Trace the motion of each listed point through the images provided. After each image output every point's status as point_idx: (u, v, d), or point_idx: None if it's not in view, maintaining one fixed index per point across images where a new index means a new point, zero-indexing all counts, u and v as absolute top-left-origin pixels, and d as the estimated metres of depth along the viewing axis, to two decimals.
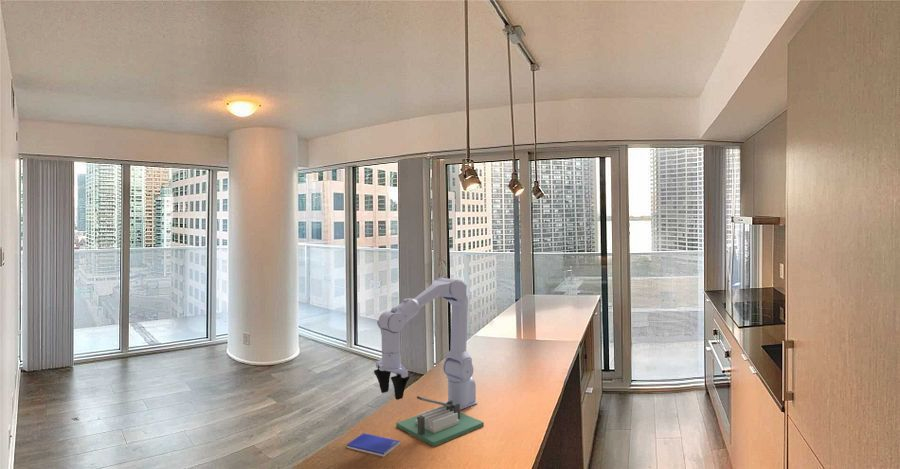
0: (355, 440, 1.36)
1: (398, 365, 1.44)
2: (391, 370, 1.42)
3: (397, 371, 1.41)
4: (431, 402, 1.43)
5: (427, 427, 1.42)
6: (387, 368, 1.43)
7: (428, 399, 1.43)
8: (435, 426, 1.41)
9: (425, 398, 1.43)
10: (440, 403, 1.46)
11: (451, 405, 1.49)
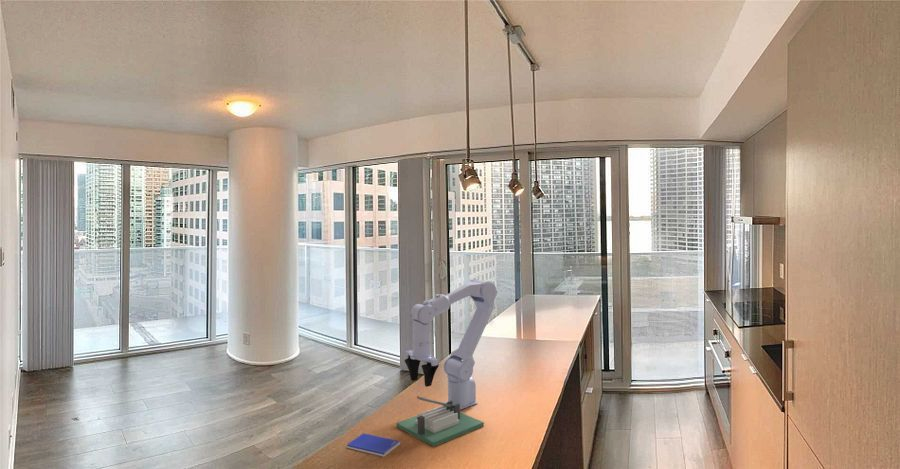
0: (355, 440, 1.36)
1: (428, 354, 1.54)
2: (422, 359, 1.52)
3: (428, 360, 1.51)
4: (431, 402, 1.43)
5: (427, 427, 1.42)
6: (418, 357, 1.53)
7: (428, 399, 1.43)
8: (435, 426, 1.41)
9: (425, 398, 1.43)
10: (440, 403, 1.46)
11: (451, 405, 1.49)
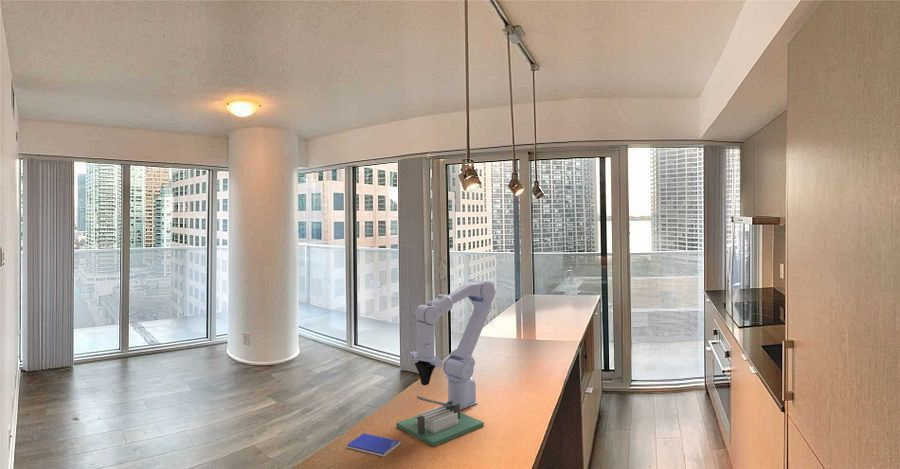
0: (355, 440, 1.36)
1: (432, 356, 1.53)
2: (426, 360, 1.51)
3: (432, 361, 1.49)
4: (431, 402, 1.43)
5: (427, 427, 1.42)
6: (422, 358, 1.51)
7: (428, 399, 1.43)
8: (435, 426, 1.41)
9: (425, 398, 1.43)
10: (440, 403, 1.46)
11: (451, 405, 1.49)
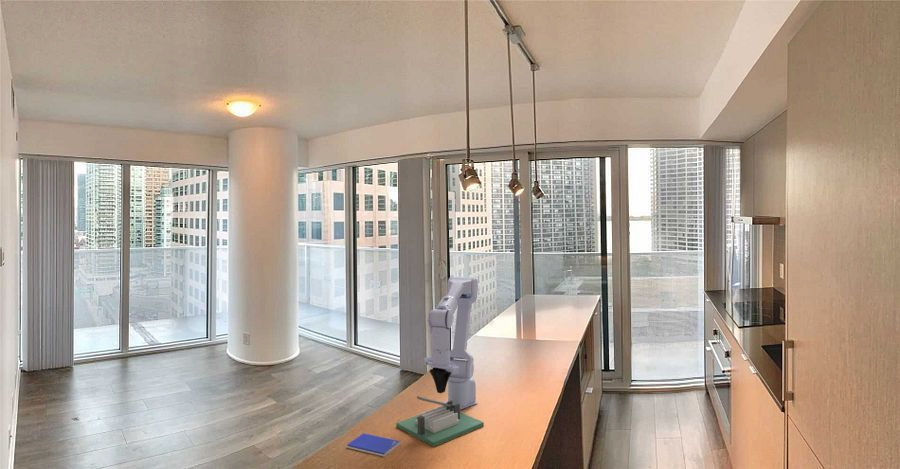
0: (355, 440, 1.36)
1: (448, 362, 1.45)
2: (442, 367, 1.43)
3: (448, 368, 1.42)
4: (431, 402, 1.43)
5: (427, 427, 1.42)
6: (438, 365, 1.44)
7: (428, 399, 1.43)
8: (435, 426, 1.41)
9: (425, 398, 1.43)
10: (440, 403, 1.46)
11: (451, 405, 1.49)
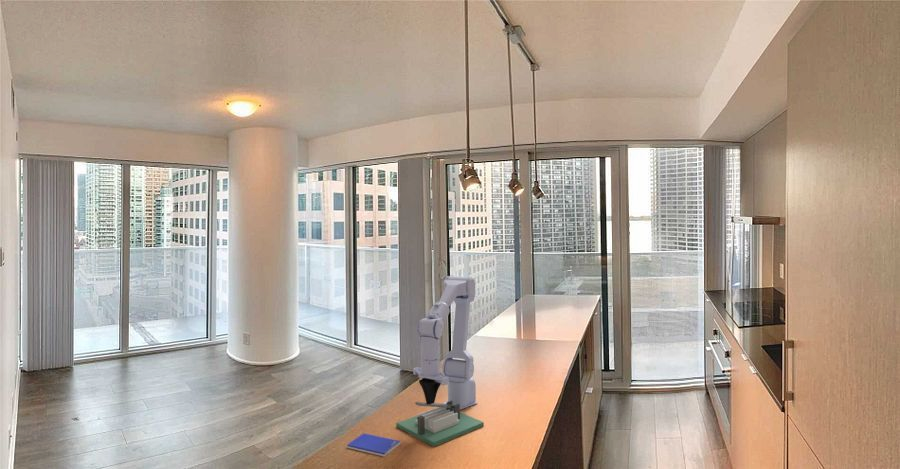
0: (355, 440, 1.36)
1: (437, 372, 1.42)
2: (431, 377, 1.40)
3: (437, 378, 1.39)
4: (430, 406, 1.43)
5: (427, 427, 1.42)
6: (427, 375, 1.41)
7: (427, 403, 1.43)
8: (435, 426, 1.41)
9: (424, 403, 1.43)
10: (439, 406, 1.45)
11: (451, 406, 1.48)
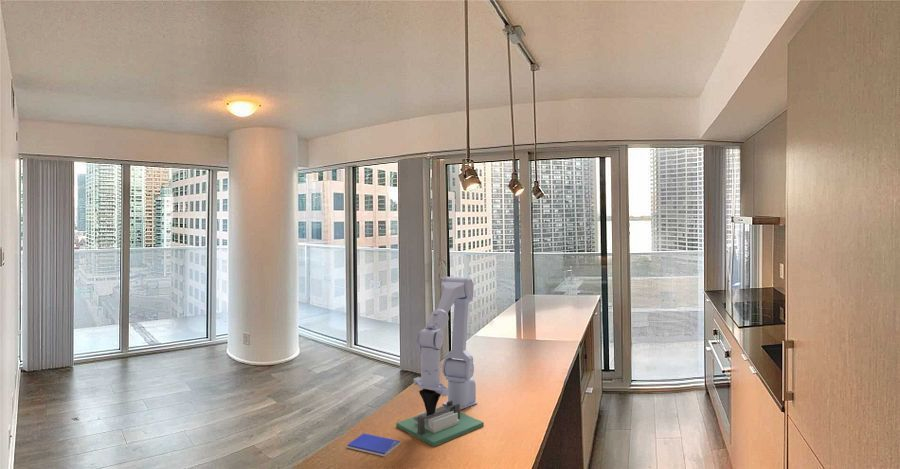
0: (355, 440, 1.36)
1: (438, 383, 1.42)
2: (431, 388, 1.40)
3: (438, 389, 1.39)
4: None
5: (427, 427, 1.42)
6: (427, 386, 1.41)
7: (425, 416, 1.42)
8: (435, 426, 1.41)
9: (422, 415, 1.42)
10: (439, 412, 1.45)
11: (450, 408, 1.48)
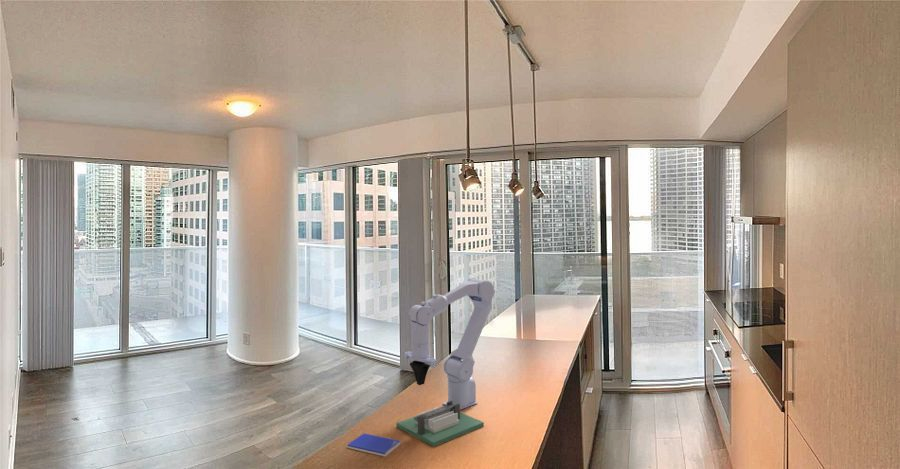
0: (356, 440, 1.36)
1: (427, 355, 1.54)
2: (421, 360, 1.51)
3: (427, 361, 1.50)
4: None
5: (427, 427, 1.42)
6: (417, 358, 1.52)
7: (425, 416, 1.42)
8: (435, 426, 1.41)
9: (422, 415, 1.42)
10: (439, 412, 1.45)
11: (450, 408, 1.48)
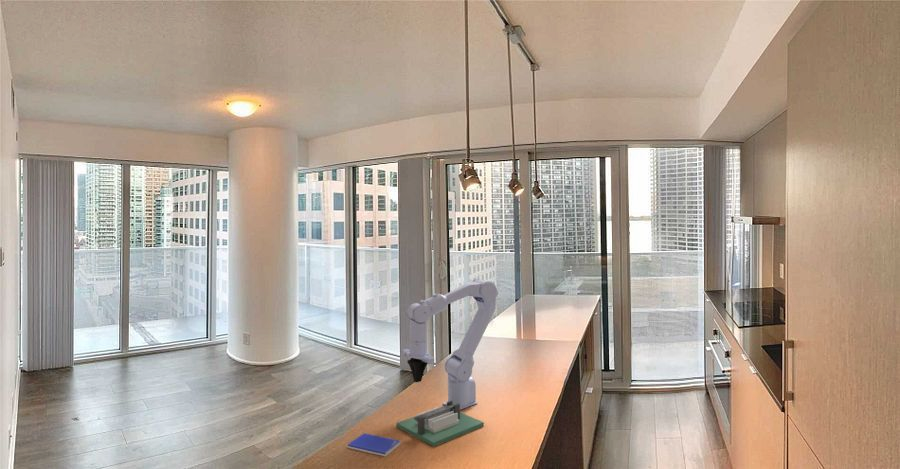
0: (356, 440, 1.36)
1: (424, 353, 1.56)
2: (418, 357, 1.54)
3: (424, 358, 1.53)
4: None
5: (427, 427, 1.42)
6: (414, 355, 1.54)
7: (425, 416, 1.42)
8: (435, 426, 1.41)
9: (422, 415, 1.42)
10: (439, 412, 1.45)
11: (450, 408, 1.48)
